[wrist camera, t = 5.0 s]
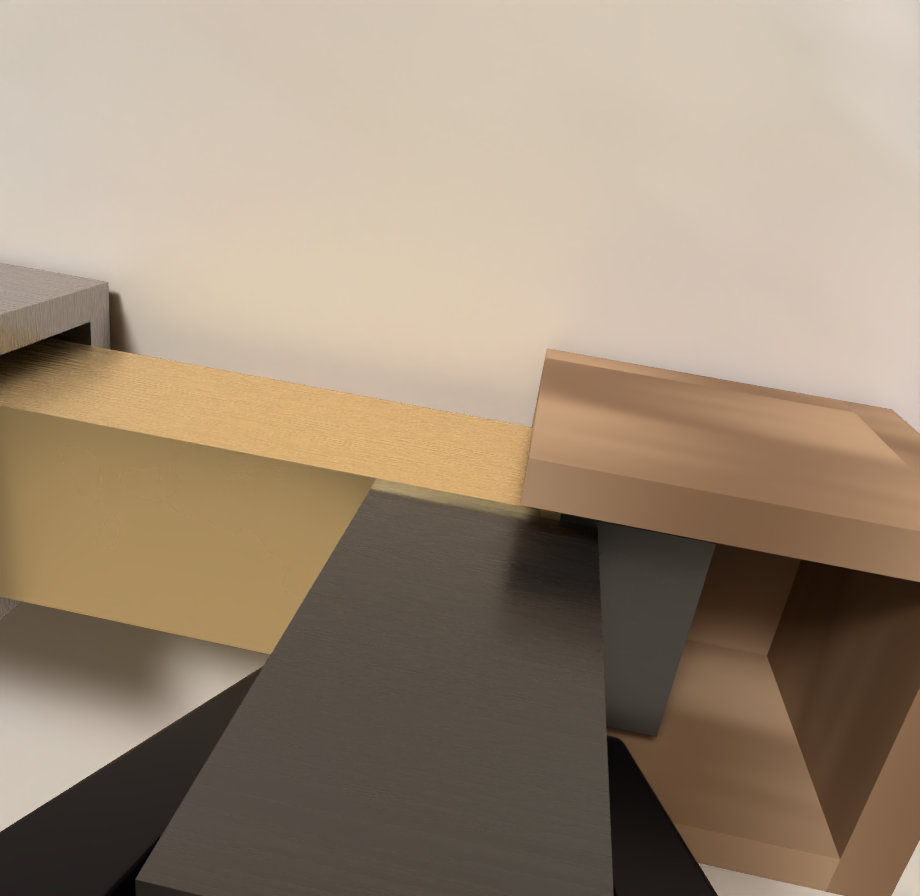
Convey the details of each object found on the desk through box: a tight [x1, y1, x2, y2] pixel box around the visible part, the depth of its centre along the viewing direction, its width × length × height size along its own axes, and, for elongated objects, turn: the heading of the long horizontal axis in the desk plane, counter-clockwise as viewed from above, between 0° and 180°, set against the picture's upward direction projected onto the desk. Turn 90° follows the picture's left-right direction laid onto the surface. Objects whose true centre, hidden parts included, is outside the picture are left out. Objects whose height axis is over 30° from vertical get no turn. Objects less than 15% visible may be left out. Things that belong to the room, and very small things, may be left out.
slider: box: [0, 338, 716, 896], centre depth 10 cm, size 15×3×9 cm, turn 82°
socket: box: [520, 349, 920, 896], centre depth 12 cm, size 6×5×5 cm
